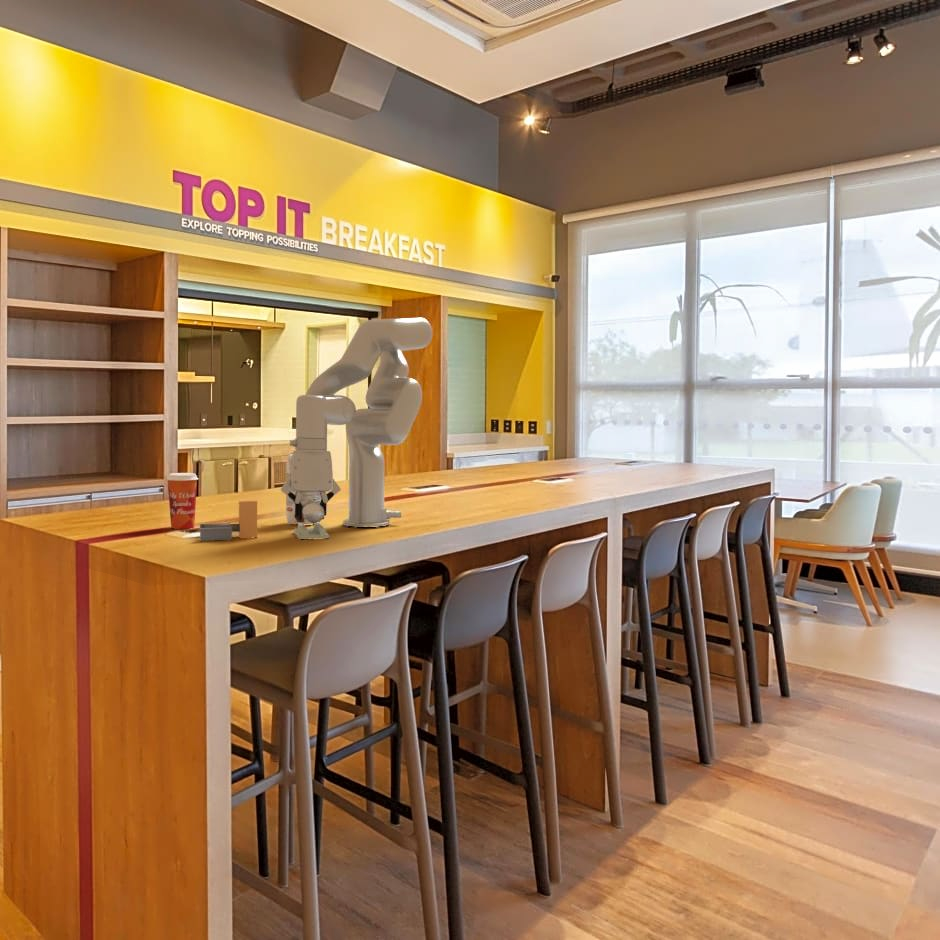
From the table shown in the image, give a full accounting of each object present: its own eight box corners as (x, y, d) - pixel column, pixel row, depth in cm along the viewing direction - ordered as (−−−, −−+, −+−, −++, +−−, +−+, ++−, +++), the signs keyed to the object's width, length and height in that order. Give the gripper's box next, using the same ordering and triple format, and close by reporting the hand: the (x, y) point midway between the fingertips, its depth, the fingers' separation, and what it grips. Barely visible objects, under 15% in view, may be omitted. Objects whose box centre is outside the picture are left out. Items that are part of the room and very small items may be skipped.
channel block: (230, 534, 194) (230, 522, 194) (231, 540, 187) (231, 527, 187) (200, 535, 192) (200, 523, 192) (200, 541, 185) (200, 528, 184)
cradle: (321, 531, 202) (321, 522, 202) (329, 538, 192) (329, 529, 191) (294, 532, 200) (294, 523, 199) (299, 540, 189) (299, 530, 189)
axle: (324, 522, 190) (324, 502, 190) (304, 523, 189) (304, 503, 188) (318, 517, 199) (318, 498, 198) (299, 518, 197) (299, 499, 197)
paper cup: (165, 530, 199) (164, 475, 198) (168, 525, 206) (167, 472, 205) (198, 529, 201) (197, 475, 200) (199, 525, 209) (199, 472, 207)
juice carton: (313, 526, 211) (313, 455, 209) (283, 524, 212) (283, 454, 211) (324, 522, 218) (324, 453, 216) (295, 521, 220) (295, 452, 218)
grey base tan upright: (255, 535, 195) (255, 499, 194) (257, 538, 191) (257, 501, 190) (204, 537, 191) (204, 500, 190) (204, 540, 187) (204, 502, 186)
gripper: (277, 445, 187) (277, 521, 189) (348, 446, 193) (347, 520, 194) (274, 444, 194) (273, 517, 196) (343, 445, 200) (342, 516, 201)
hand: (310, 518), depth 195 cm, fingers closed on axle, 4 cm apart
